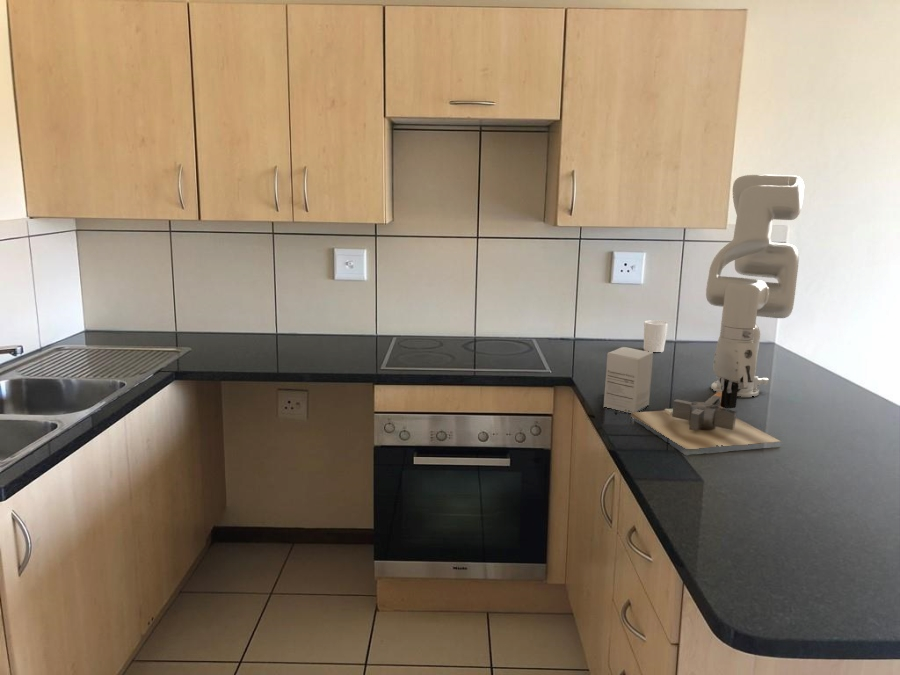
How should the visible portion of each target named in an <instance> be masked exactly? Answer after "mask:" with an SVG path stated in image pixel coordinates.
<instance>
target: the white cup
mask: <svg viewBox="0 0 900 675" xmlns="http://www.w3.org/2000/svg"><path fill="white" fill-rule="evenodd" d="M668 326H669V323H668V322H667V321H663V320H656V319H655V320H654V319H652V320H651V319H650V320H648V319H647V320H644V323H643V351H649V352H661V353H663V352H664V351H665V345H666V340H667V333H668Z"/></svg>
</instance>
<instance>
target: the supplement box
mask: <svg viewBox="0 0 900 675" xmlns="http://www.w3.org/2000/svg"><path fill="white" fill-rule="evenodd" d="M653 357H654V353H653V352H648V351H645V350H642V349H637V348H632V347H628V346H627V347H626V346H621V347H619V348H617V349H615V350H612V351H609V352H607V356H606V368H605V369H606V370H605V382H604V383H605V384H604V396H603V397H604V398H603V408H604V407H607V408H612V409H616V410H621V411H624V412H629V413H635V412H637V411H638V410H640V409H641V408H643V407H645V406H647V405H650V395H651V384H652V383H651V382H652V368H653V359H654V358H653ZM607 408H606V409H607ZM624 412H623V413H624Z"/></svg>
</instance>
